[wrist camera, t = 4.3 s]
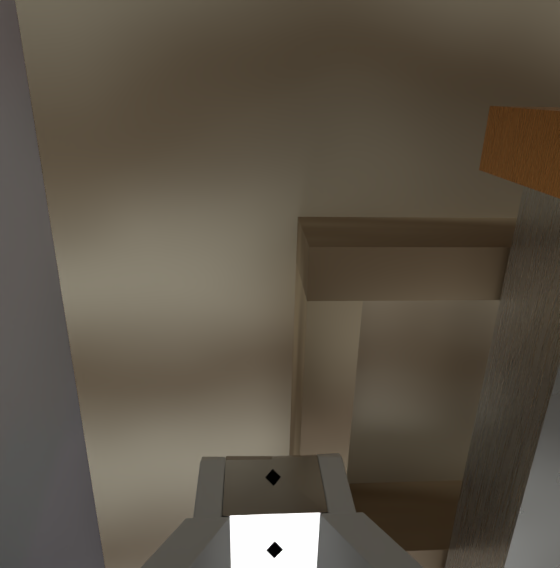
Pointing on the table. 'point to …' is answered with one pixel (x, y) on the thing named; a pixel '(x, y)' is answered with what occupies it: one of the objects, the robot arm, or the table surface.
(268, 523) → the robot arm
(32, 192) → the table surface
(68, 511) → the table surface
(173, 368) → the dock
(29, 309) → the table surface
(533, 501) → the bar
